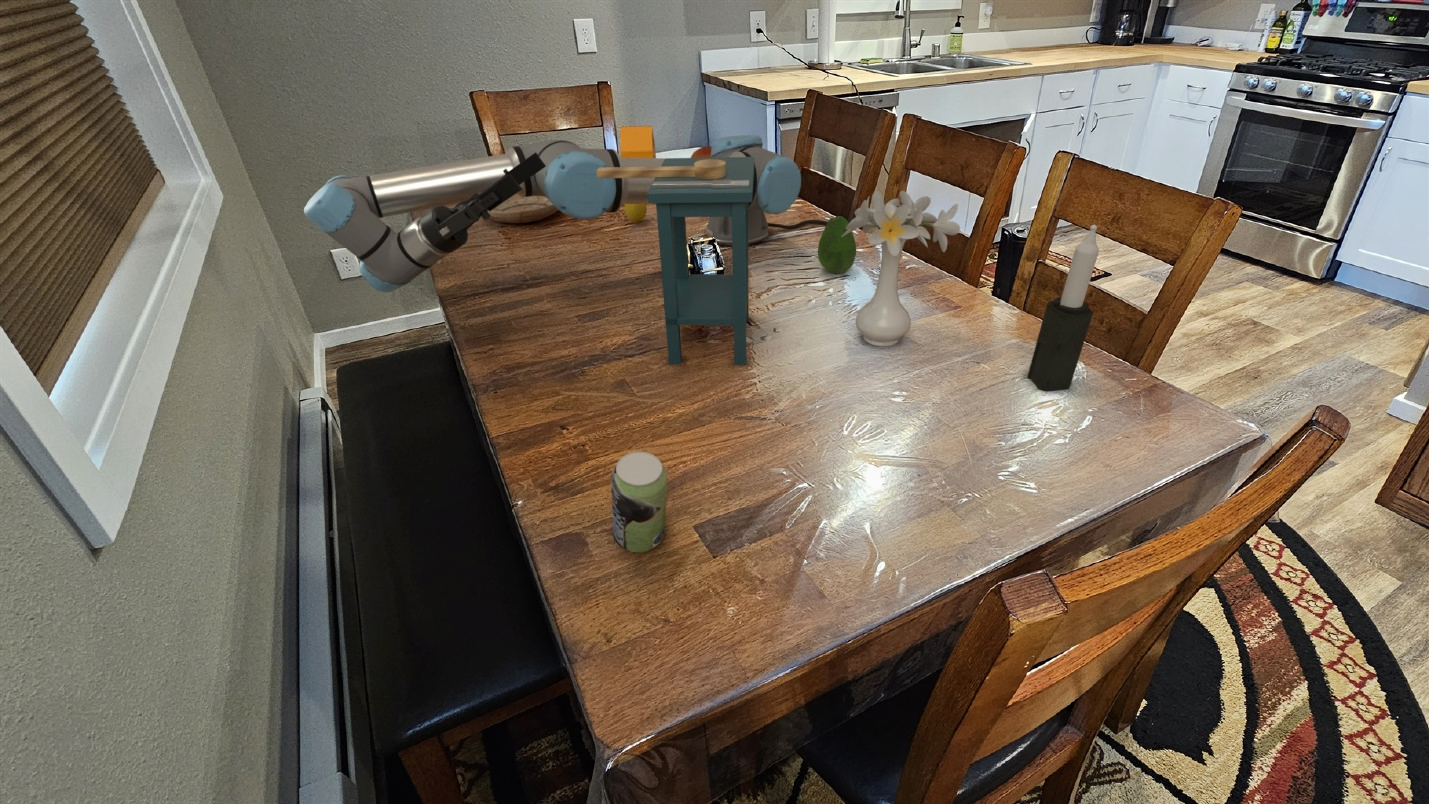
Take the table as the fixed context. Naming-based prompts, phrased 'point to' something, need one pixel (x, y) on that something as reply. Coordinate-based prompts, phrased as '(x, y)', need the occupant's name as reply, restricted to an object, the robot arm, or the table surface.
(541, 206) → the ceramic bowl
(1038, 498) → the table surface
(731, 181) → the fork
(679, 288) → the stand
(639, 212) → the lemon
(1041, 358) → the candle
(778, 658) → the table surface
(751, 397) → the table surface
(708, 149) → the burger
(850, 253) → the avocado
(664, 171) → the wooden spoon
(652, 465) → the beverage can
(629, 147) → the orange juice
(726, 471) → the table surface
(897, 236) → the flower vase
